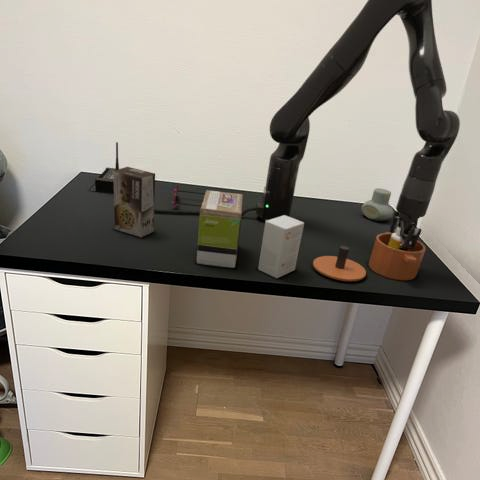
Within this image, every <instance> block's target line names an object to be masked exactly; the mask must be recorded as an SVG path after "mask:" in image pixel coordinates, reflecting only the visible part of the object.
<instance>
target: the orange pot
mask: <svg viewBox="0 0 480 480" xmlns="http://www.w3.org/2000/svg"><path fill="white" fill-rule="evenodd" d="M391 234H392V233H390V231H385V232H384V233H379V234H377V235H376V237H375V240H374V244H373V247H372V250H371V254H370V258H369V261H368V267H369V268H370V269H371V270H372V271H373V273H374V272H375V273H376V274H378V275H380V276H382V277H385V278H388V279H392V280H395V281H411V280H413V279H415V278H416V277H417V275H418V272H419V270H420V267H421V264H422V261H423V258H424V255H425V253H426V248H427V247H426V245H424V243H423V242H421V241H419V240H417V242H416V244H415V247H414V249H409V251H403V250H398V249H395V248H392V247H389V246H388V244H389V241H390V238H391ZM411 244H412V243H411Z"/></svg>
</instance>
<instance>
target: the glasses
mask: <svg viewBox="0 0 480 480" xmlns="http://www.w3.org/2000/svg"><path fill="white" fill-rule="evenodd" d="M173 192H174V201H171V205H173V210H176V205H182V206H190V207H191V206H192V207H201V206H202V204H194V203H193V204H192V203H184V202H179V198H180V197H179V195H178V192H179V193H187V194H188V193H189V194H199V195H205V193H206V192H196V191H188V190H181V189H179V185H176V187H175V189H173Z"/></svg>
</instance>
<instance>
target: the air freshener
mask: <svg viewBox="0 0 480 480" xmlns="http://www.w3.org/2000/svg"><path fill="white" fill-rule="evenodd" d="M391 197H392V191H390V190H388V189H385V188H380V187H377V188H374V190H373V193H372V195H371V199H370V200H367V201H365V202H364V203H362V205H361V212H362V214H363V215H364V216H365V217H366V218H367V219H368V220H371V221H375V222H381V221H382V222H383V221H387V220H389V219H391V218H392V217H393V215H394V209H393V207H392V206H391V204H390V199H391Z"/></svg>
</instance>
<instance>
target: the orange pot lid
mask: <svg viewBox="0 0 480 480" xmlns="http://www.w3.org/2000/svg"><path fill="white" fill-rule="evenodd" d="M349 251H350V247H349V246H345V245H340V246H339V250H338V253H337V256H335V255H321V256H318V257H316V258H314V259H313V261H312V267H313V269H314V270H315V271H317V272H318V273H319V274H321V275H323V276H324V277H327V278H330V279H333V280H336V281H341V282H357V281H361V280H363V279H364V278H366V275H367V271H366V269H365V267H363V265H361V264H359V263H358V262H356V261H355V260H352V259H349V258H348V255H349Z"/></svg>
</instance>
